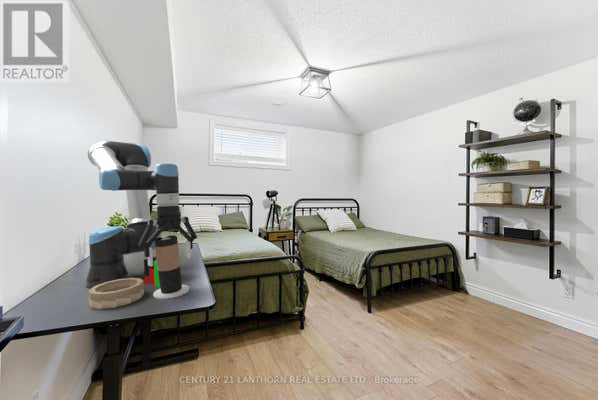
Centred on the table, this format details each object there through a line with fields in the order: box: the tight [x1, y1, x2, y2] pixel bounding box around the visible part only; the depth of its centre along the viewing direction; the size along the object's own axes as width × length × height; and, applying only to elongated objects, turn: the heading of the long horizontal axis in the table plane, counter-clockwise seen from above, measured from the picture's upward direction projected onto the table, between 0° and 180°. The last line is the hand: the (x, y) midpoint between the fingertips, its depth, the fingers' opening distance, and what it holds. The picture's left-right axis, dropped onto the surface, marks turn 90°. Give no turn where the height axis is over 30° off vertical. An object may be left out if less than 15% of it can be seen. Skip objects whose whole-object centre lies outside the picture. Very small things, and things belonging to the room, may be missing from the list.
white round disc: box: [152, 284, 190, 300], centre depth 95 cm, size 12×12×1 cm
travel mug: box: [154, 234, 183, 294], centre depth 94 cm, size 8×8×20 cm
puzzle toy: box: [143, 255, 182, 287], centre depth 108 cm, size 10×10×10 cm
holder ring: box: [88, 277, 145, 310], centre depth 90 cm, size 15×15×5 cm
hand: (170, 261), depth 95 cm, fingers open, 13 cm apart
